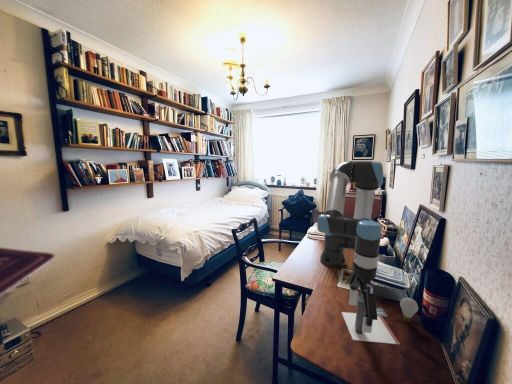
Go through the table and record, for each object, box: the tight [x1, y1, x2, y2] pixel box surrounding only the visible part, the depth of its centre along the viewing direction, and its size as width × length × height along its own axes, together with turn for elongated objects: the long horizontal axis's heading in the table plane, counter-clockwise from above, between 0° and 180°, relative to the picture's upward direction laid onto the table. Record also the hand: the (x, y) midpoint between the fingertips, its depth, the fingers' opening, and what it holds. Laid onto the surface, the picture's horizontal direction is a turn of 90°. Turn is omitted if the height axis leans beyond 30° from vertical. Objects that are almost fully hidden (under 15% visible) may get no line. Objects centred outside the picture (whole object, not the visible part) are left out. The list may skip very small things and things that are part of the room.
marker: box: [355, 293, 365, 334], centre depth 80 cm, size 3×3×14 cm
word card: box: [376, 307, 389, 318], centre depth 91 cm, size 5×7×1 cm
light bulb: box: [399, 296, 419, 323], centre depth 86 cm, size 6×6×10 cm
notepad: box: [341, 311, 401, 345], centre depth 83 cm, size 14×16×1 cm
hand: (359, 317), depth 80 cm, fingers open, 13 cm apart
